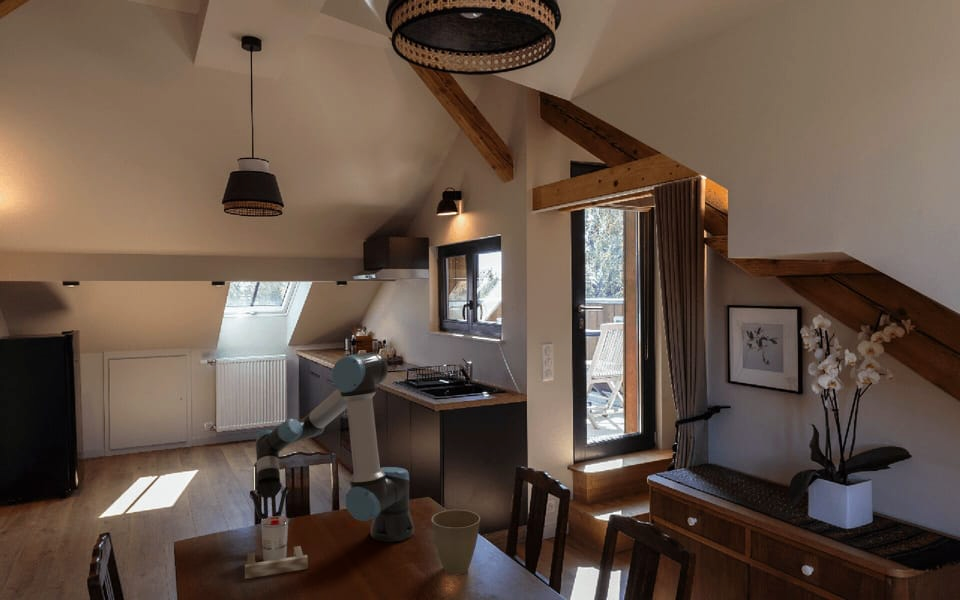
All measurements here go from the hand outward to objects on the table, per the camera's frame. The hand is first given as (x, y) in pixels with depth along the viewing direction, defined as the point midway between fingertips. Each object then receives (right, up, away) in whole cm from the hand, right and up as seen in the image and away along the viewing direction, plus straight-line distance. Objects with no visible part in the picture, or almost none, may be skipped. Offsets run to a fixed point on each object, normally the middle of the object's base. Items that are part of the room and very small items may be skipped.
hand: (271, 537), depth 202 cm
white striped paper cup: (+3, -5, -4) cm, 7 cm away
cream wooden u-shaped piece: (+5, -5, -10) cm, 12 cm away
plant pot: (+61, -5, -12) cm, 62 cm away
